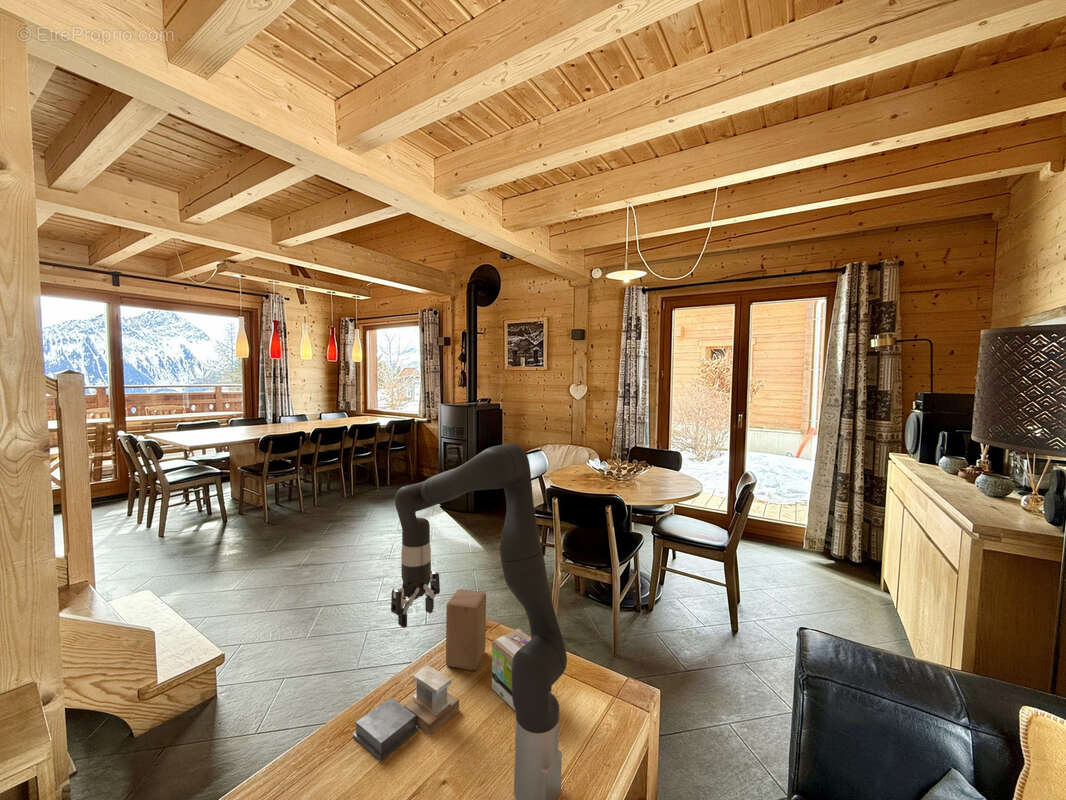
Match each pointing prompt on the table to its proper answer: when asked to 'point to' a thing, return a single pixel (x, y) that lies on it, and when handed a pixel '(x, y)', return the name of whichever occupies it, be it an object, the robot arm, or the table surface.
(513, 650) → the tea box
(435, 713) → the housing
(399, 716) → the stand
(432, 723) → the stand
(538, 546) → the robot arm
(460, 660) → the wooden block
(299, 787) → the table surface
